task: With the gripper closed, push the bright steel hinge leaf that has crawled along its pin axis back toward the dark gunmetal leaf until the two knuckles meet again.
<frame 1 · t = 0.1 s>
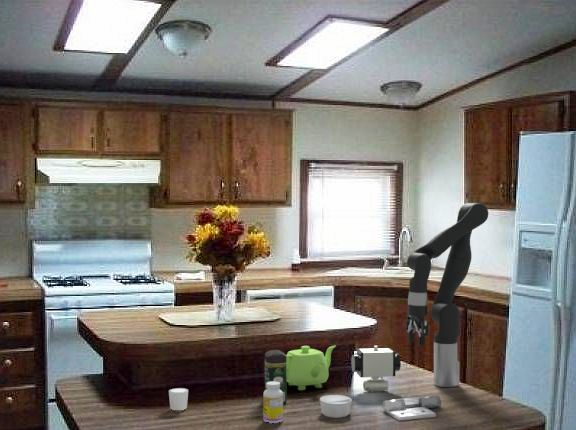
hand: (416, 344, 280), 17 cm above the countertop, tool pointing down, fingers open, 8 cm apart
shot glass: (178, 410, 250), on the countertop
loose leaf: (408, 407, 245), point 2 cm above the countertop, slide at 7.0 cm
supplement bottle: (273, 421, 237), on the countertop
ball valve: (375, 391, 275), on the countertop
teapot: (312, 387, 282), on the countertop
ramekin: (335, 414, 245), on the countertop
coffee jar: (275, 401, 261), on the countertop
fixed leaf: (420, 408, 251), on the countertop
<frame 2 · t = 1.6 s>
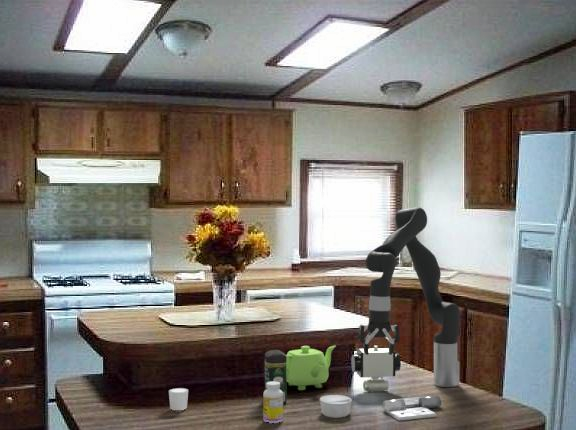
hand: (378, 354, 250), 19 cm above the countertop, tool pointing down, fingers open, 8 cm apart
nothing on the countertop moved.
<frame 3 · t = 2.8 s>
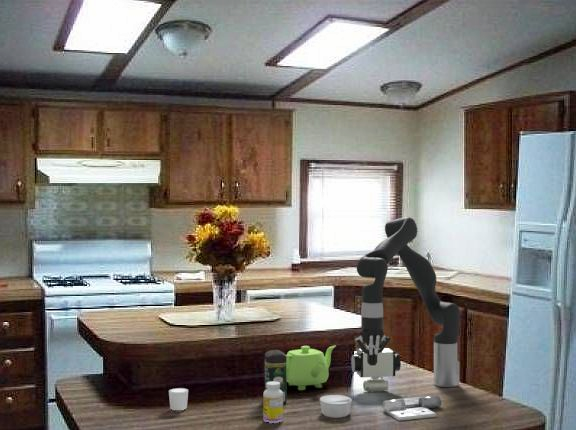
hand: (372, 364, 245), 17 cm above the countertop, tool pointing down, fingers closed
nothing on the countertop moved.
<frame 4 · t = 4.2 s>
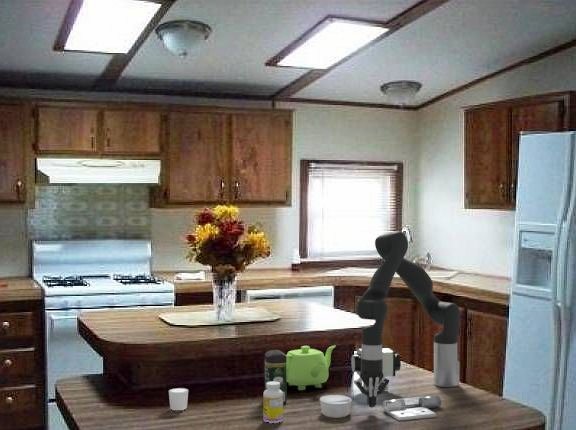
hand: (371, 406, 245), 3 cm above the countertop, tool pointing down, fingers closed
nothing on the countertop moved.
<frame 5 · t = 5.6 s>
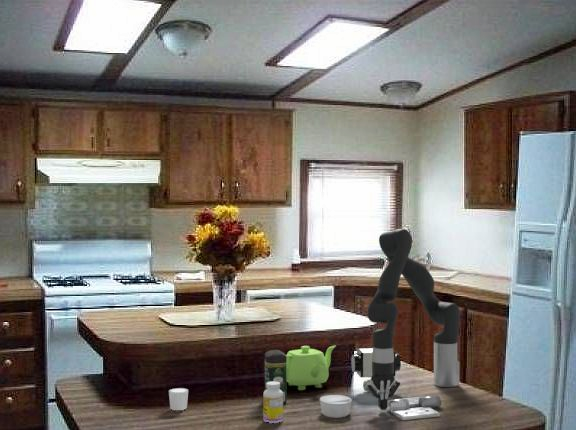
hand: (382, 409, 246), 1 cm above the countertop, tool pointing down, fingers closed
loose leaf: (412, 407, 245), point 2 cm above the countertop, slide at 5.5 cm, touching gripper
everything else where it was.
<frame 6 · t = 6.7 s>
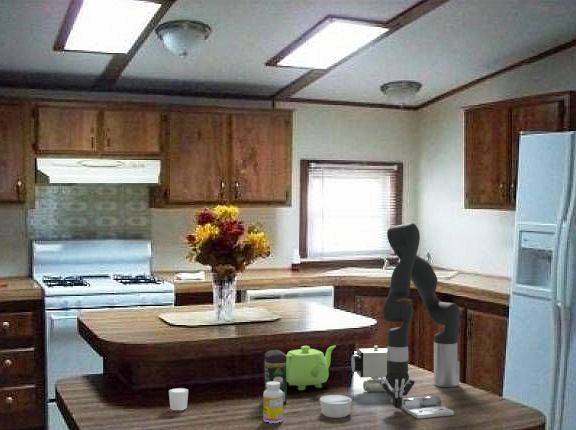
hand: (397, 407, 248), 1 cm above the countertop, tool pointing down, fingers closed
loose leaf: (426, 406, 247), point 2 cm above the countertop, slide at 0.0 cm, touching gripper
everything else where it was.
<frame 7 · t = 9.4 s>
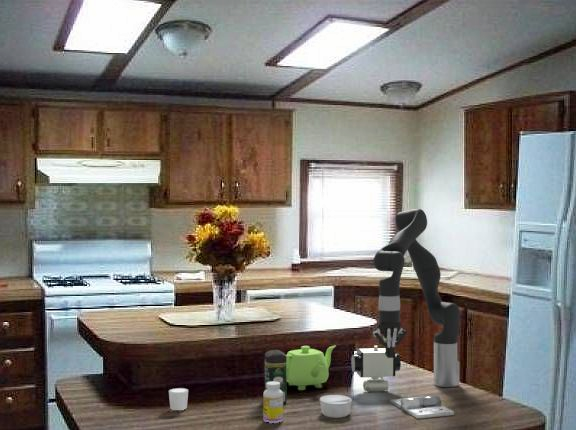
hand: (389, 357, 247), 19 cm above the countertop, tool pointing down, fingers closed
loose leaf: (426, 406, 247), point 2 cm above the countertop, slide at 0.0 cm
everything else where it was.
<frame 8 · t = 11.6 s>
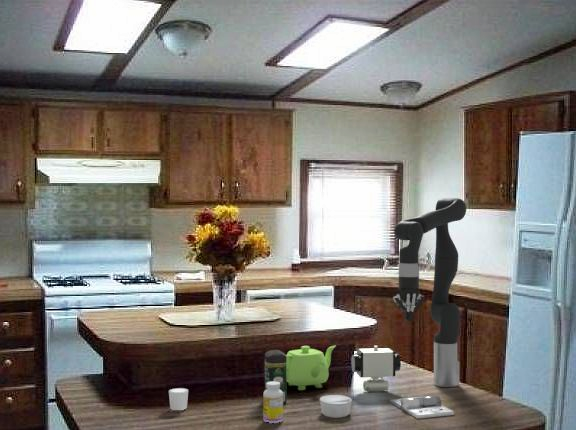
hand: (408, 321, 263), 29 cm above the countertop, tool pointing down, fingers closed
nothing on the countertop moved.
at the end: loose leaf slide at 0.0 cm; loose leaf touching nothing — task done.
